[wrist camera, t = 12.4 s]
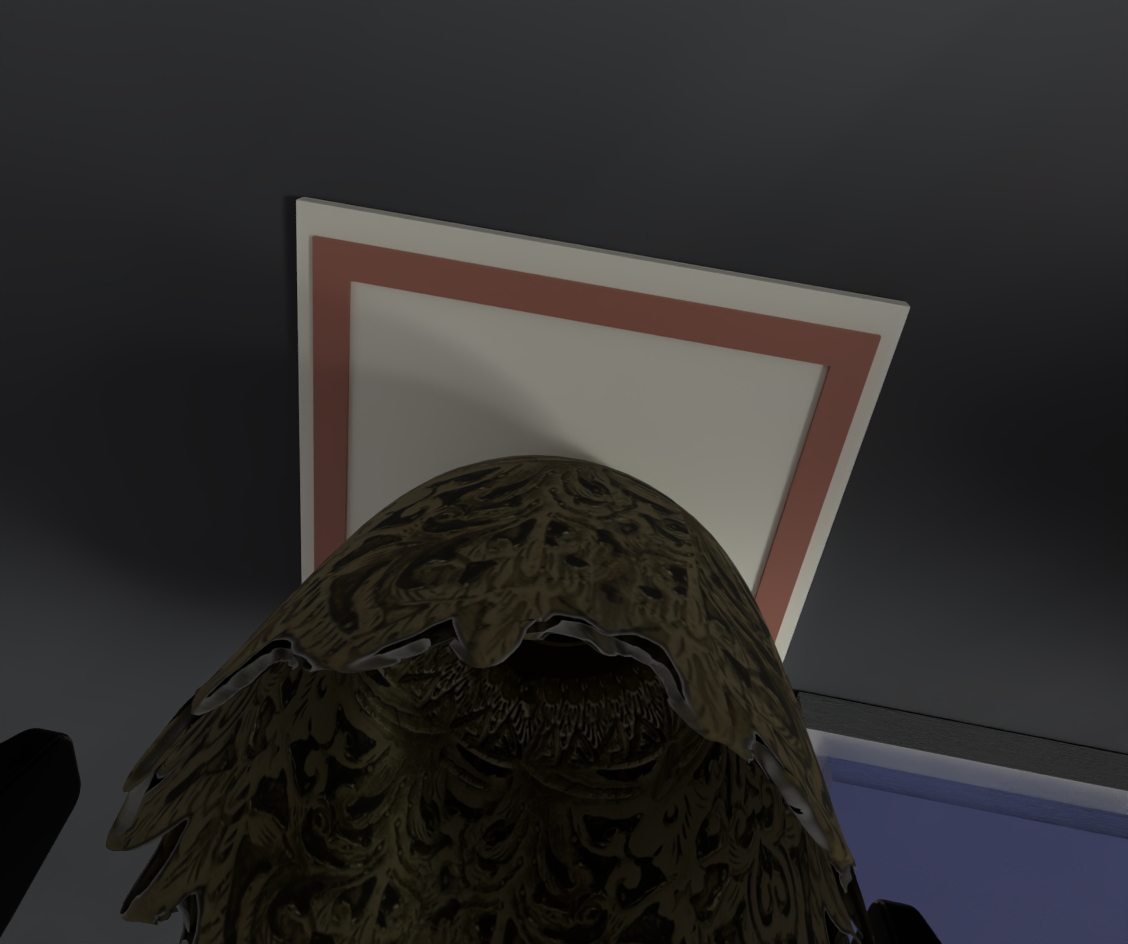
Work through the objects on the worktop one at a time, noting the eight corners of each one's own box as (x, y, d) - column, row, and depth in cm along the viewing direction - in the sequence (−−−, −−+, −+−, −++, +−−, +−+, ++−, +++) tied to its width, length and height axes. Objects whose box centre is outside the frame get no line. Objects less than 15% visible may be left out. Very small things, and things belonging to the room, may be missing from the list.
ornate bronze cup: (861, 449, 13) (1073, 894, 6) (665, 734, 17) (659, 1229, 10) (443, 262, 13) (157, 524, 6) (329, 599, 16) (63, 1022, 9)
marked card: (904, 302, 12) (912, 308, 12) (744, 755, 17) (746, 770, 17) (303, 196, 13) (293, 200, 12) (309, 669, 18) (301, 681, 17)
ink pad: (1282, 785, 16) (1342, 857, 14) (1074, 1035, 20) (1104, 1109, 19) (798, 691, 16) (810, 752, 15) (697, 957, 21) (699, 1024, 19)
